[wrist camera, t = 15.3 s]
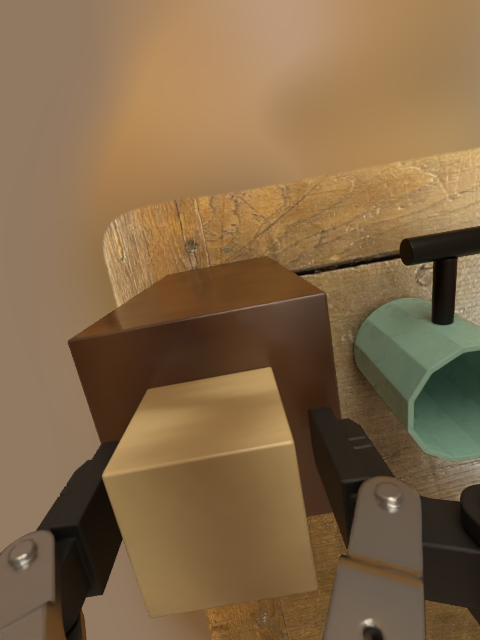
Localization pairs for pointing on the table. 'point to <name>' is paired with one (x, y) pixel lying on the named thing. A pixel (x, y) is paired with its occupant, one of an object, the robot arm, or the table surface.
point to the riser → (216, 348)
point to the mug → (428, 353)
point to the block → (211, 495)
